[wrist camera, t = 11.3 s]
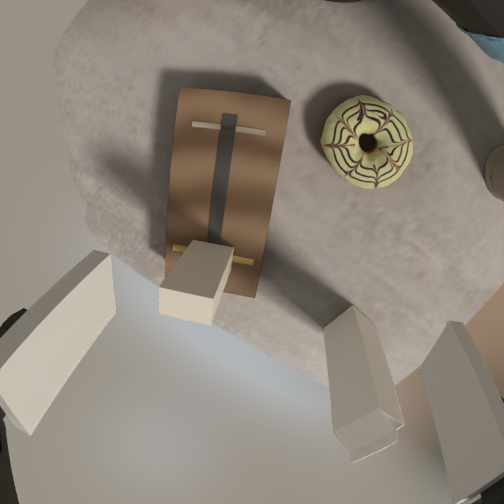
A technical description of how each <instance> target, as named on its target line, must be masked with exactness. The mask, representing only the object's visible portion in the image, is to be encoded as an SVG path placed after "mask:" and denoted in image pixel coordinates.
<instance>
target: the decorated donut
mask: <svg viewBox="0 0 504 504" xmlns="http://www.w3.org/2000/svg"><path fill="white" fill-rule="evenodd" d="M363 133H366V134H371V135H373V137H374V138H375V140H376V145H375V147H374V148H373V149H371V150H369V151H367V150H366V151H365V150H364V151H363V150H362V149H361V148H360V146H359V137H360V135H361V134H363ZM320 142H321V145H322V148H323V150H324V153H325V155H326V157H327V159H328V161H329V162H330V164H331V166H332V167H333V168H334V170H335V171H336V172H337V173H338V174H339V175H340V176H341V177H343V178H344V179H345V180H347V181H348V182H350V183H351V184H353V185H356V186H358V187H361V188H366V189H370V188H381V187H385V186H388V185H390V184H391V183H392V182H394V181H395V180H396V179H398V177H399V176H400V175H401V174H402V172H403V171H404V169H405V168H406V166H407V165H408V164H409V162H410V160H411V157H412V153H413V140H412V135H411V132H410V130H409V127H408V125H407V123H406V120H405V118H404V116H403V115H402V114H401V113H400V112H398V111H396V110H395V109H394V108H393V106H392V105H391V104H389V103H385V102H382V101H380V100H378V99H376V98H374V97H371V96H367V95H359V96H356V97H354V98H351V99H348V100H346V101H345V102H343V103H342V104H340V105H339V106H337V108H335V109H334V110H333V111H332V112H331V113H330V115H329V116H328V118H327V120H326V122H325V125H324V127H323V133H322V137H321V140H320Z"/></svg>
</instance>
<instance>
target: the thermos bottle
mask: <svg viewBox="0 0 504 504" xmlns="http://www.w3.org/2000/svg"><path fill="white" fill-rule="evenodd" d="M485 181H486V184H487V187H488V189H489V191H490V192H491V194H492V195H493V196H494V197H496V198H498V199H500V200H502V201H504V146H503V145H501V146H498V147H496V148H495V149H493V150H492V151H491V153H490V154H489V156H488V158H487V161H486V165H485Z"/></svg>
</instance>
